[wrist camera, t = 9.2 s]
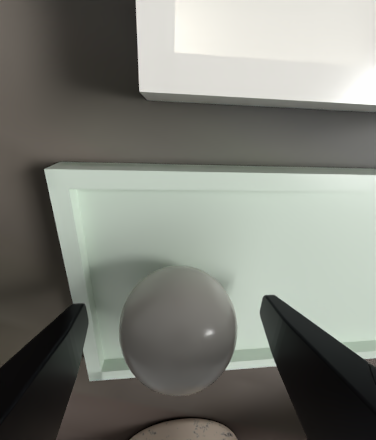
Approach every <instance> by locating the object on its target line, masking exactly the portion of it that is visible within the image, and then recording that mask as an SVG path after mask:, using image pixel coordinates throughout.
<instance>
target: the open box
mask: <svg viewBox="0 0 376 440" xmlns="http://www.w3.org/2000/svg"><path fill="white" fill-rule="evenodd" d="M136 20H137V45H138V70H139V92H140V93H141V94H142V95H143V96H144V97H145V98H146V99H147V100H149V101H168V102H187V103H206V104H225V105H245V106H264V107H283V108H302V109H321V110H340V111H360V112H376V0H136Z"/></svg>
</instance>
